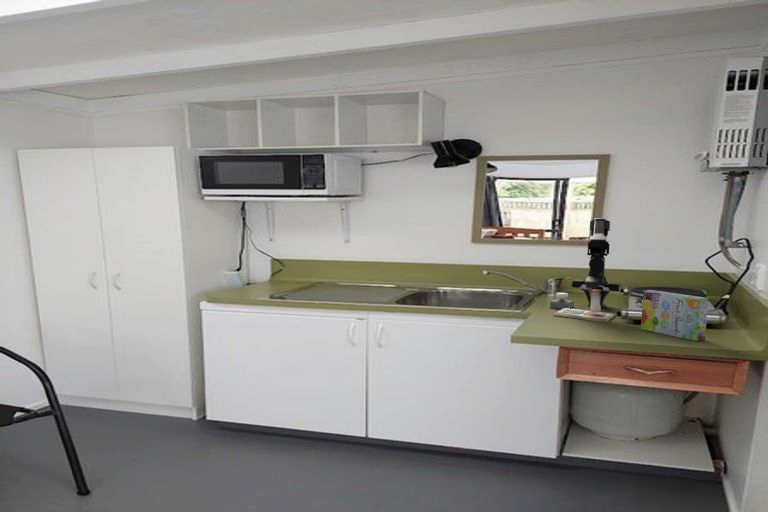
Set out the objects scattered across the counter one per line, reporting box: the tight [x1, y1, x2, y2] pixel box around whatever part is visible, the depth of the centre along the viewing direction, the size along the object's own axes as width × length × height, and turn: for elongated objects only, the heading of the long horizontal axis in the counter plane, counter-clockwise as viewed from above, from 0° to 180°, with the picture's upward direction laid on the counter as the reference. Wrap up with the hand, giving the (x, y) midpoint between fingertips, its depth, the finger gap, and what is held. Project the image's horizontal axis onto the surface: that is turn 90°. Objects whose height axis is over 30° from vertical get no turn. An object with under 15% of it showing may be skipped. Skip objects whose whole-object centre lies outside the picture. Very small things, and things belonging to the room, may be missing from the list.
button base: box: [549, 298, 575, 310], centre depth 233 cm, size 8×8×3 cm
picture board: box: [553, 308, 616, 323], centre depth 215 cm, size 15×21×1 cm
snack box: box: [640, 289, 709, 342], centre depth 183 cm, size 21×6×15 cm, turn 30°
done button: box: [555, 292, 569, 302], centre depth 232 cm, size 5×5×5 cm
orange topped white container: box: [589, 290, 602, 313], centre depth 211 cm, size 4×4×9 cm
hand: (595, 305), depth 212 cm, fingers closed on orange topped white container, 4 cm apart
